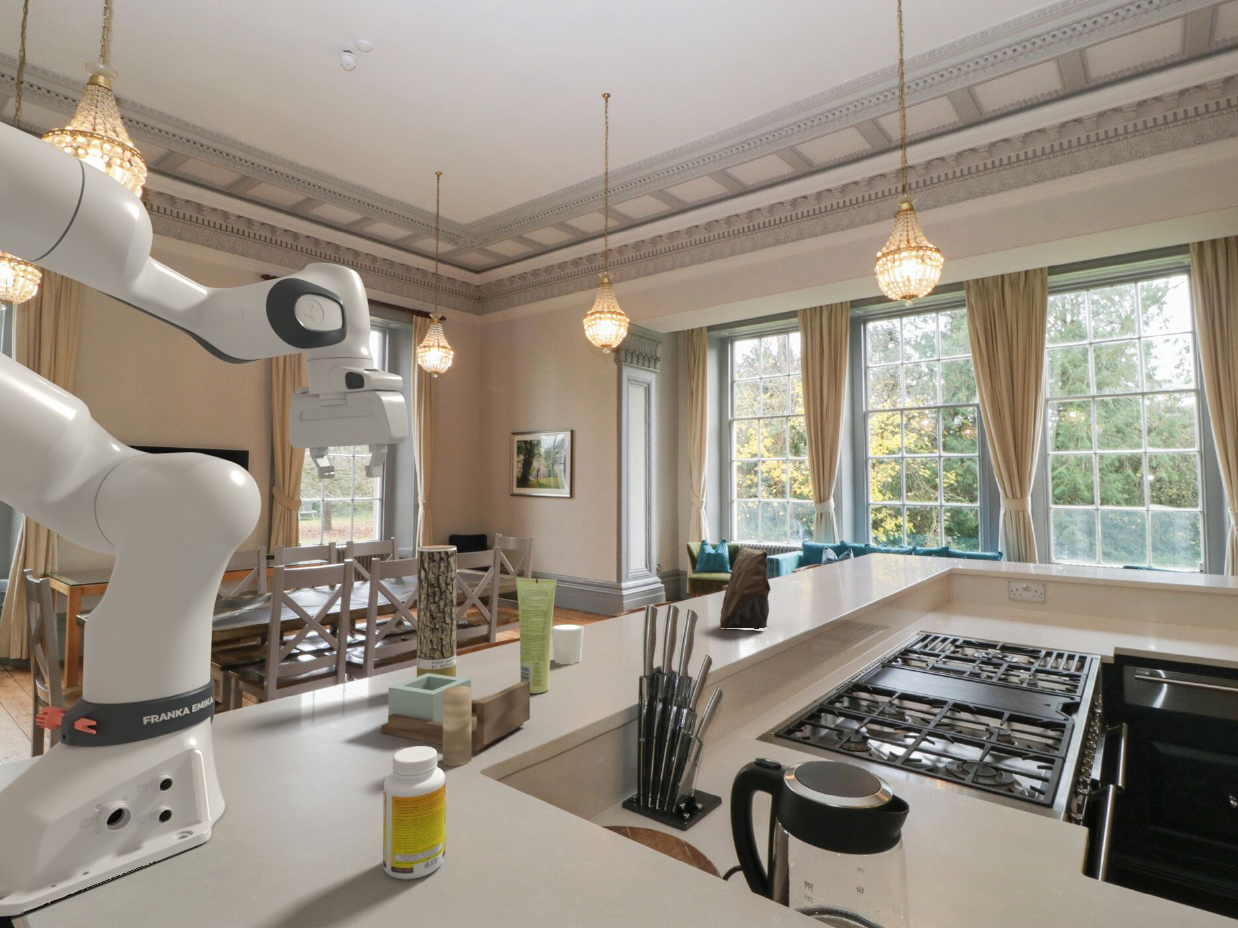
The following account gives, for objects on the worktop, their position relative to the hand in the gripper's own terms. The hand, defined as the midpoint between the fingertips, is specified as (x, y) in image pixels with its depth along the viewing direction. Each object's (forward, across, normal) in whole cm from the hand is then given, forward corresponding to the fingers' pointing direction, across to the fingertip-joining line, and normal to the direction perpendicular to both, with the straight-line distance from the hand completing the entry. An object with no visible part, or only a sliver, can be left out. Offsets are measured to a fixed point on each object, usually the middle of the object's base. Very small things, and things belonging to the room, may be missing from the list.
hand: (350, 478), depth 96 cm
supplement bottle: (+35, +31, -25) cm, 53 cm away
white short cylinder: (+43, +7, +46) cm, 63 cm away
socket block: (+37, +7, +5) cm, 38 cm away
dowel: (+37, +19, -4) cm, 42 cm away
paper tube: (+40, -5, +20) cm, 44 cm away
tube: (+40, +12, +26) cm, 49 cm away
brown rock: (+48, +31, +93) cm, 109 cm away
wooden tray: (+38, +11, +5) cm, 40 cm away
